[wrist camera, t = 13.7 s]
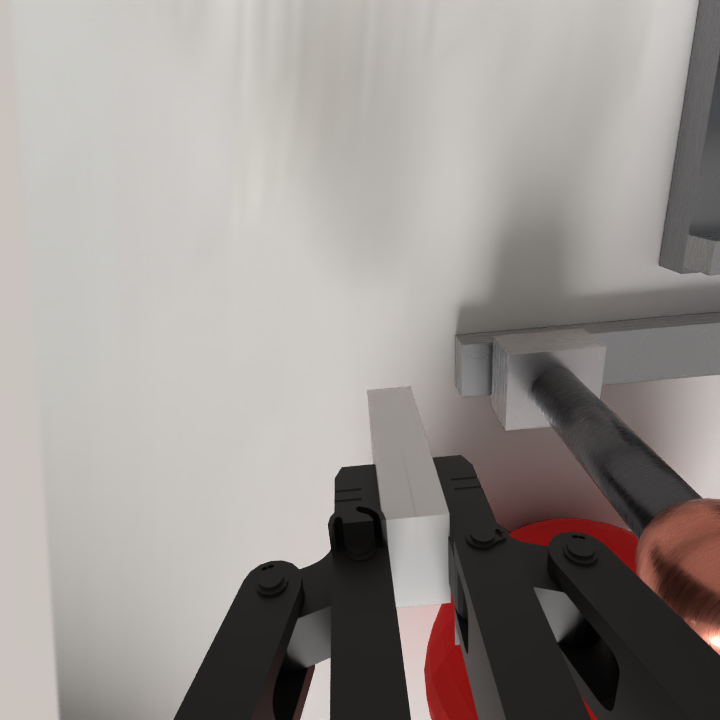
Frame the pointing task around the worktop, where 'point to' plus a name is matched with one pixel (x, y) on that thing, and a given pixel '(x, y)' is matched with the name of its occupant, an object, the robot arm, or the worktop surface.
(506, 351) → the lever
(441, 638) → the tomato
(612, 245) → the worktop surface
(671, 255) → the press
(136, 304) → the worktop surface
